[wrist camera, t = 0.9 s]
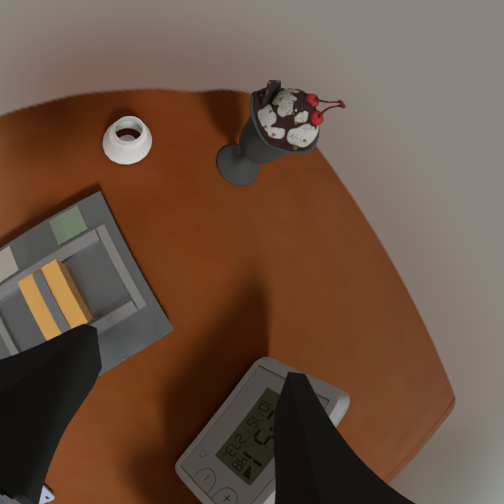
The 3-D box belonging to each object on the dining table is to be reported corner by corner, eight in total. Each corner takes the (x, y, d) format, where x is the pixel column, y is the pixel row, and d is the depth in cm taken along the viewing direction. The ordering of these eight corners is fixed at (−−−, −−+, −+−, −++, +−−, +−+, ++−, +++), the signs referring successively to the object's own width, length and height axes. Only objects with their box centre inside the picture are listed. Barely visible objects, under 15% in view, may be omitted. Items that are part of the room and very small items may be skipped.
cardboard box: (60, 337, 20) (48, 345, 16) (33, 285, 20) (16, 282, 16) (93, 317, 22) (87, 322, 18) (65, 265, 22) (55, 258, 17)
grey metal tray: (32, 412, 19) (28, 419, 17) (-37, 280, 17) (-45, 278, 16) (171, 328, 26) (175, 330, 24) (100, 194, 25) (100, 188, 23)
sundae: (270, 192, 33) (368, 132, 19) (213, 194, 30) (295, 118, 16) (260, 139, 33) (343, 65, 20) (205, 137, 30) (272, 44, 17)
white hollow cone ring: (106, 122, 26) (100, 165, 25) (107, 106, 23) (99, 151, 23) (152, 124, 28) (149, 167, 27) (157, 109, 25) (153, 154, 25)
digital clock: (264, 346, 30) (331, 363, 20) (307, 398, 31) (374, 424, 22) (148, 447, 23) (170, 511, 13) (207, 491, 24) (247, 549, 15)
